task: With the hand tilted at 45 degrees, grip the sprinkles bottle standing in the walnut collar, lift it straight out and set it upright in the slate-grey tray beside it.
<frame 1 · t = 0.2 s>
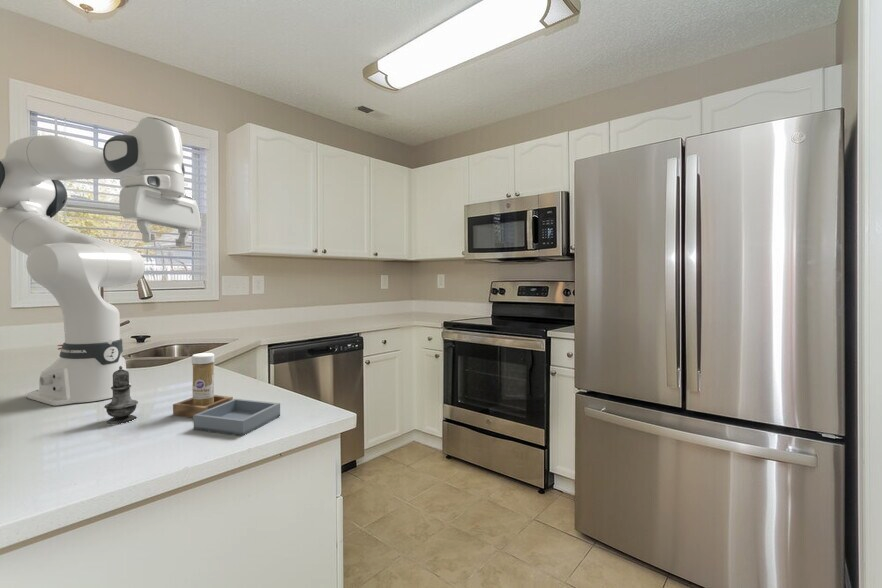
hand: (165, 244, 102), 39 cm above the worktop, tool pointing down, fingers open, 8 cm apart
sprinkles bottle: (203, 411, 99), resting in walnut collar
salt shaker: (121, 421, 92), on the worktop
slate tray: (238, 422, 92), on the worktop
walnut collar: (203, 411, 99), on the worktop
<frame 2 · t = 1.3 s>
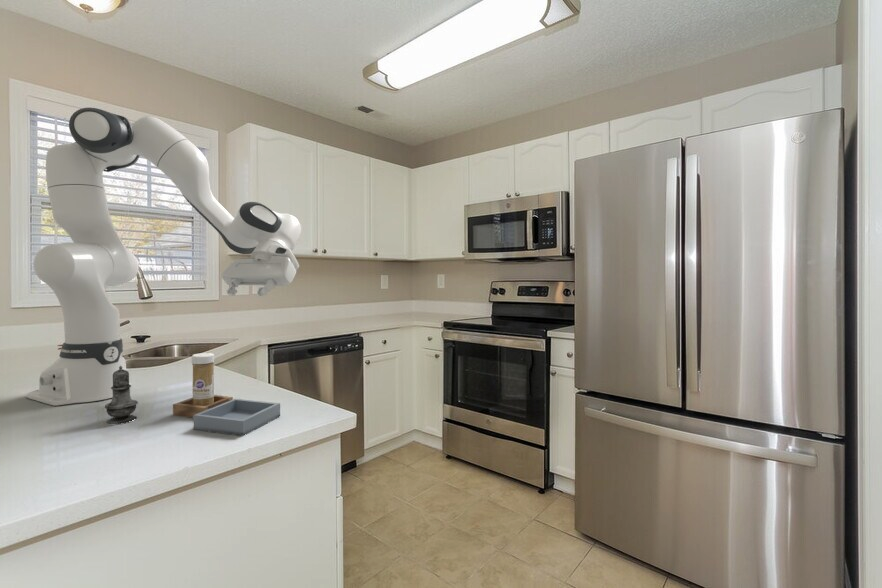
hand: (245, 294, 111), 27 cm above the worktop, tool tilted 45°, fingers open, 8 cm apart
nothing on the worktop moved.
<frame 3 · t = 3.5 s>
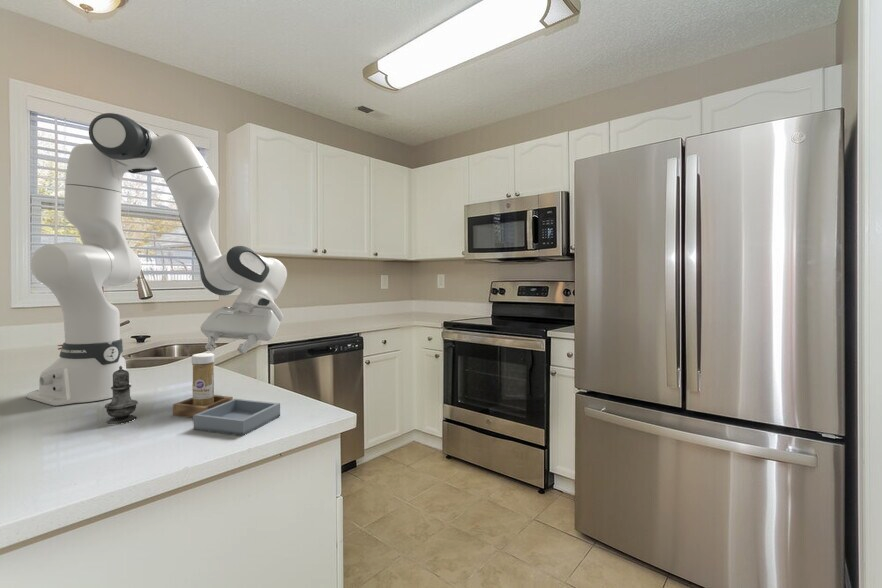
hand: (224, 350, 105), 13 cm above the worktop, tool tilted 45°, fingers open, 8 cm apart
nothing on the worktop moved.
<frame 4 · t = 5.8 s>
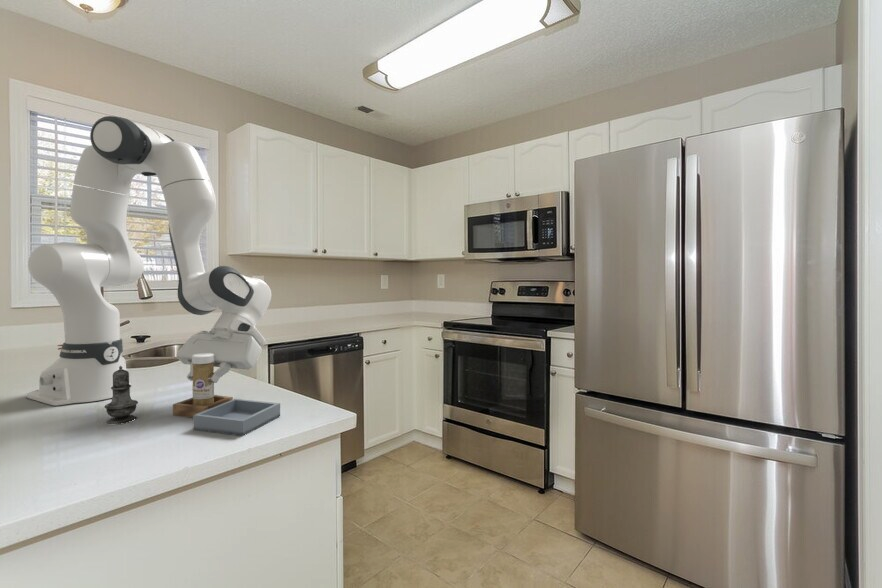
hand: (201, 380, 98), 7 cm above the worktop, tool tilted 45°, fingers closed on sprinkles bottle, 4 cm apart
sprinkles bottle: (203, 411, 99), resting in walnut collar, touching gripper
everything else where it was.
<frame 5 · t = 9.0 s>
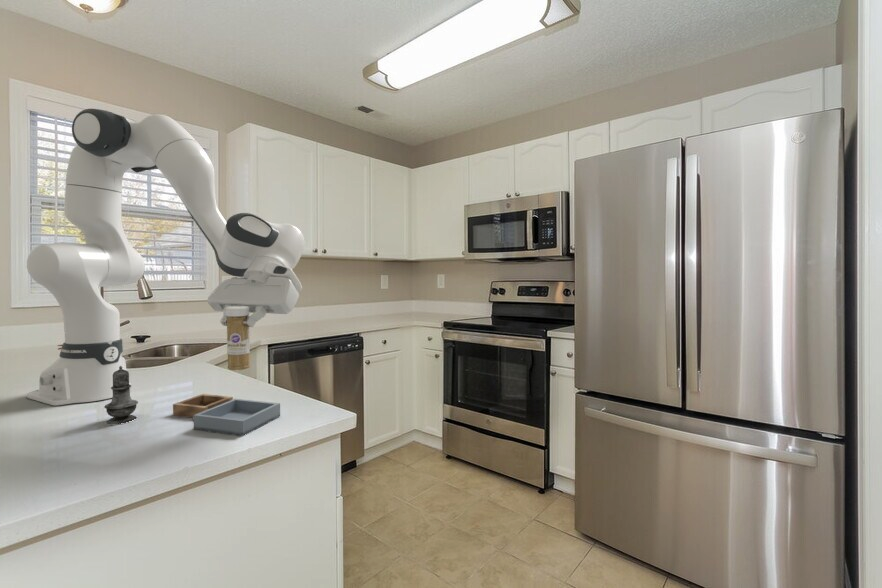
hand: (235, 324, 90), 21 cm above the worktop, tool tilted 45°, fingers closed on sprinkles bottle, 4 cm apart
sprinkles bottle: (239, 369, 91), point 12 cm above the worktop, touching gripper
everything else where it was.
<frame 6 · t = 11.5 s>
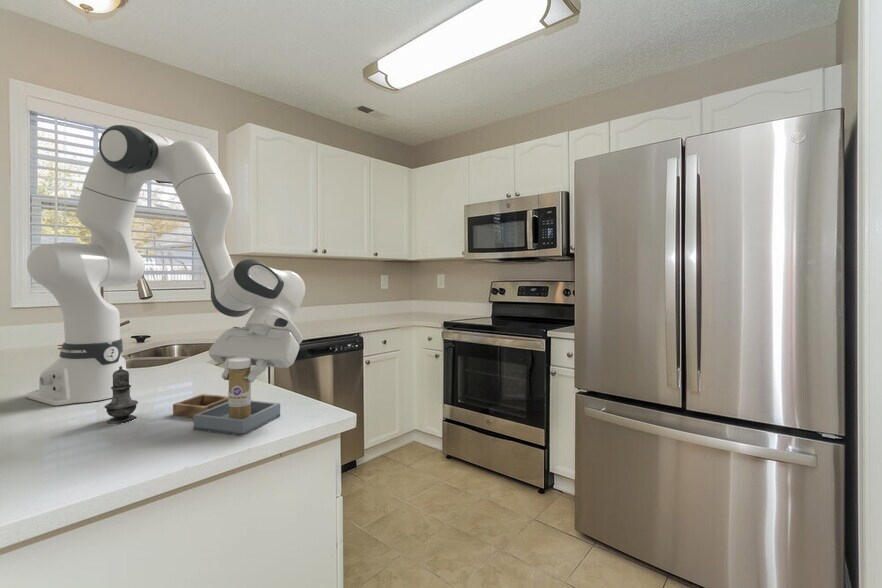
hand: (236, 379, 91), 10 cm above the worktop, tool tilted 45°, fingers closed on sprinkles bottle, 4 cm apart
sprinkles bottle: (240, 420, 92), resting on slate tray, touching gripper
everything else where it was.
when the fingers open (9 cm above the worktop, at t = 11.6 s): sprinkles bottle stays where it is, resting on slate tray.
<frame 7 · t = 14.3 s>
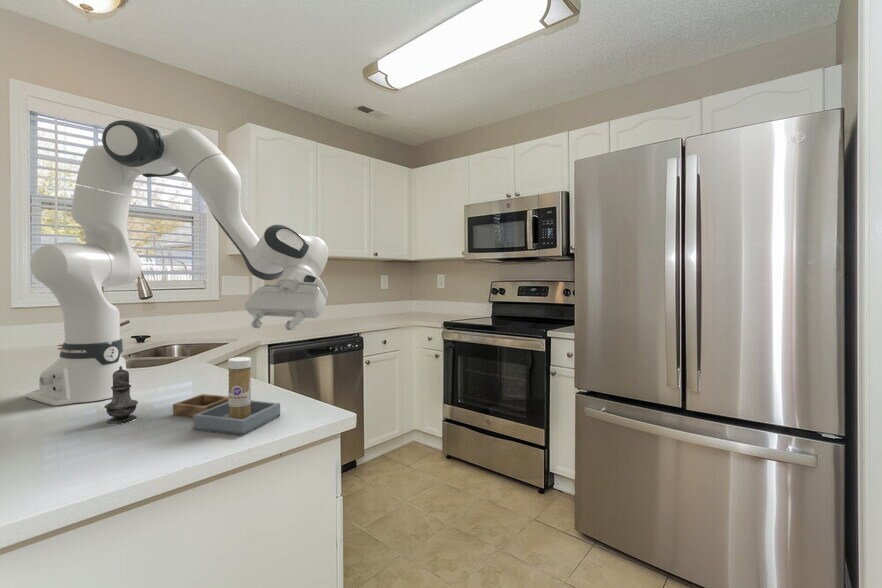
hand: (271, 327, 102), 19 cm above the worktop, tool tilted 45°, fingers open, 8 cm apart
sprinkles bottle: (240, 420, 92), resting on slate tray
everything else where it was.
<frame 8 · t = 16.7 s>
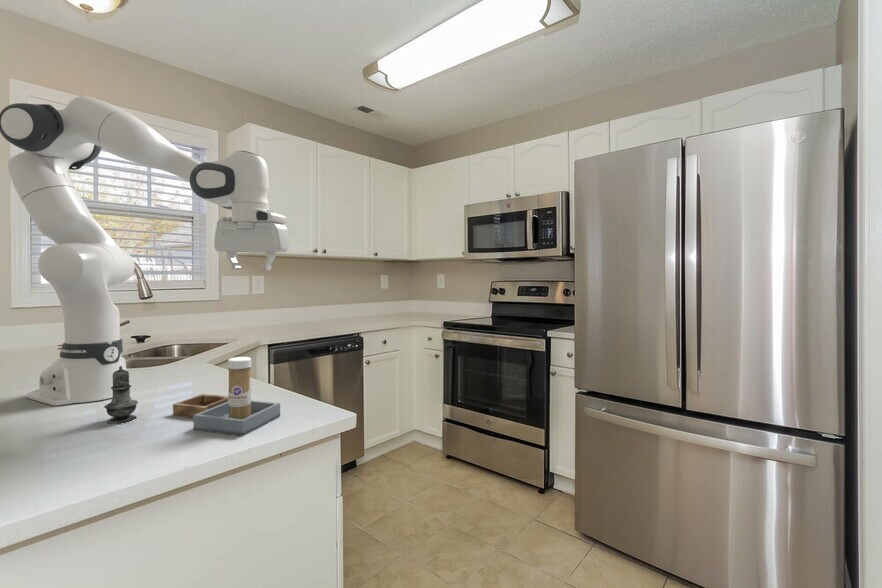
hand: (251, 269, 110), 33 cm above the worktop, tool pointing down, fingers open, 8 cm apart
nothing on the worktop moved.
at the end: sprinkles bottle inside the target area on the slate tray (0.3 cm from its centre), point 0.4 cm above the slate tray's base; sprinkles bottle tilted 0°; the gripper is holding nothing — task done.
